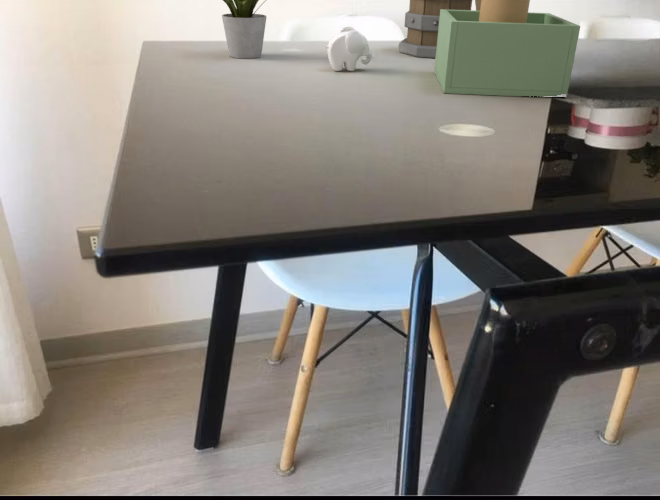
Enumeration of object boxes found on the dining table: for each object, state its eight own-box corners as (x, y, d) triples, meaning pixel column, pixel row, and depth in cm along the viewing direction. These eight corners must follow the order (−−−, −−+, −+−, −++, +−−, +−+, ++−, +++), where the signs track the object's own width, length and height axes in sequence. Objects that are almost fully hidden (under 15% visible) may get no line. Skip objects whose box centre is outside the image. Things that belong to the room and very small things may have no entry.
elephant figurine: (377, 74, 92) (379, 31, 89) (322, 74, 91) (323, 30, 88) (368, 66, 98) (371, 25, 95) (317, 65, 97) (318, 24, 94)
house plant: (304, 63, 98) (305, -53, 91) (215, 66, 94) (209, -56, 87) (280, 49, 110) (279, -55, 103) (200, 51, 106) (194, -57, 99)
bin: (538, 75, 94) (549, 13, 91) (566, 98, 80) (580, 25, 77) (434, 71, 95) (440, 9, 91) (443, 93, 81) (451, 21, 77)
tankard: (386, 49, 114) (392, -43, 107) (441, 45, 119) (450, -42, 113) (458, 68, 98) (470, -38, 91) (518, 63, 104) (533, -37, 97)
